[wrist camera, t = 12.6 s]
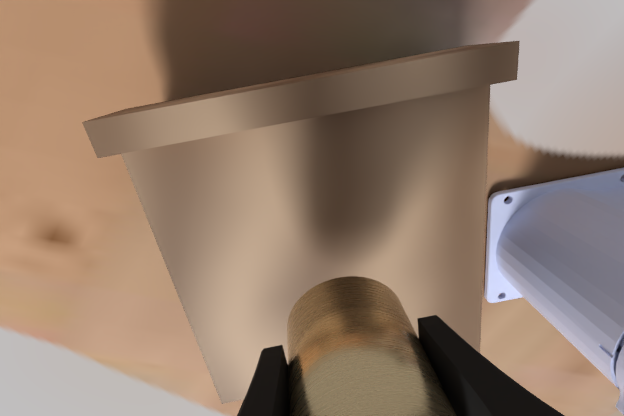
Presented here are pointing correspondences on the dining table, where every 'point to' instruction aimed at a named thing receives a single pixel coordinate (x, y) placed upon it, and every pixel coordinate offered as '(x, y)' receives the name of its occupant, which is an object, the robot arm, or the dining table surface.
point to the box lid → (317, 194)
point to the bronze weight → (358, 355)
